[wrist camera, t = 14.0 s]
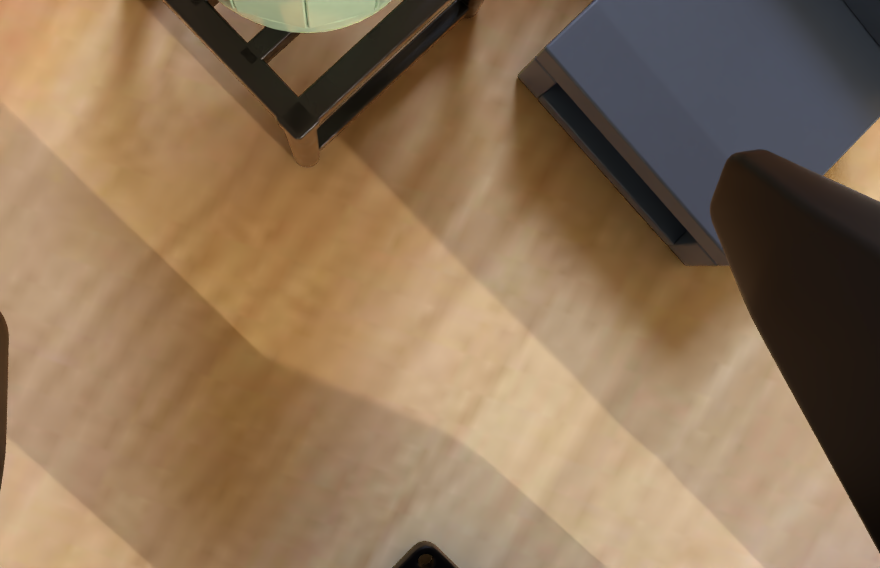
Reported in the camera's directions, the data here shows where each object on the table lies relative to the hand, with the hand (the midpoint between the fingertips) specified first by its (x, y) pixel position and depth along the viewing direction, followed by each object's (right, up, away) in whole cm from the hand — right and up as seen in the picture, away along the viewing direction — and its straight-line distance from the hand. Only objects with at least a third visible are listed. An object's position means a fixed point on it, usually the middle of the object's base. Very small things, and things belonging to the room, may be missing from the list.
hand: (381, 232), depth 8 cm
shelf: (+9, +6, +15) cm, 19 cm away
